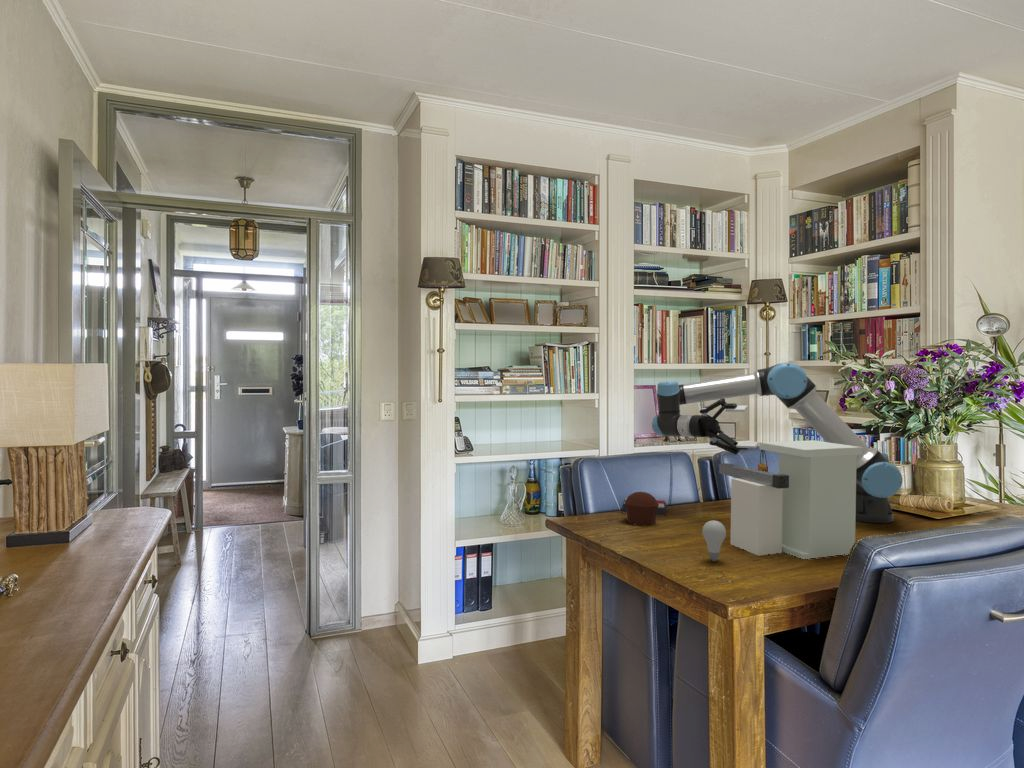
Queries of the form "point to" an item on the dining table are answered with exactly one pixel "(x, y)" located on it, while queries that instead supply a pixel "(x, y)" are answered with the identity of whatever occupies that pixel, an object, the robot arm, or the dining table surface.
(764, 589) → the dining table surface
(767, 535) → the post
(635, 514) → the muffin
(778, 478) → the rod
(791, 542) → the stand
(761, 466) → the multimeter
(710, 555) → the lightbulb
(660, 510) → the red and black box
